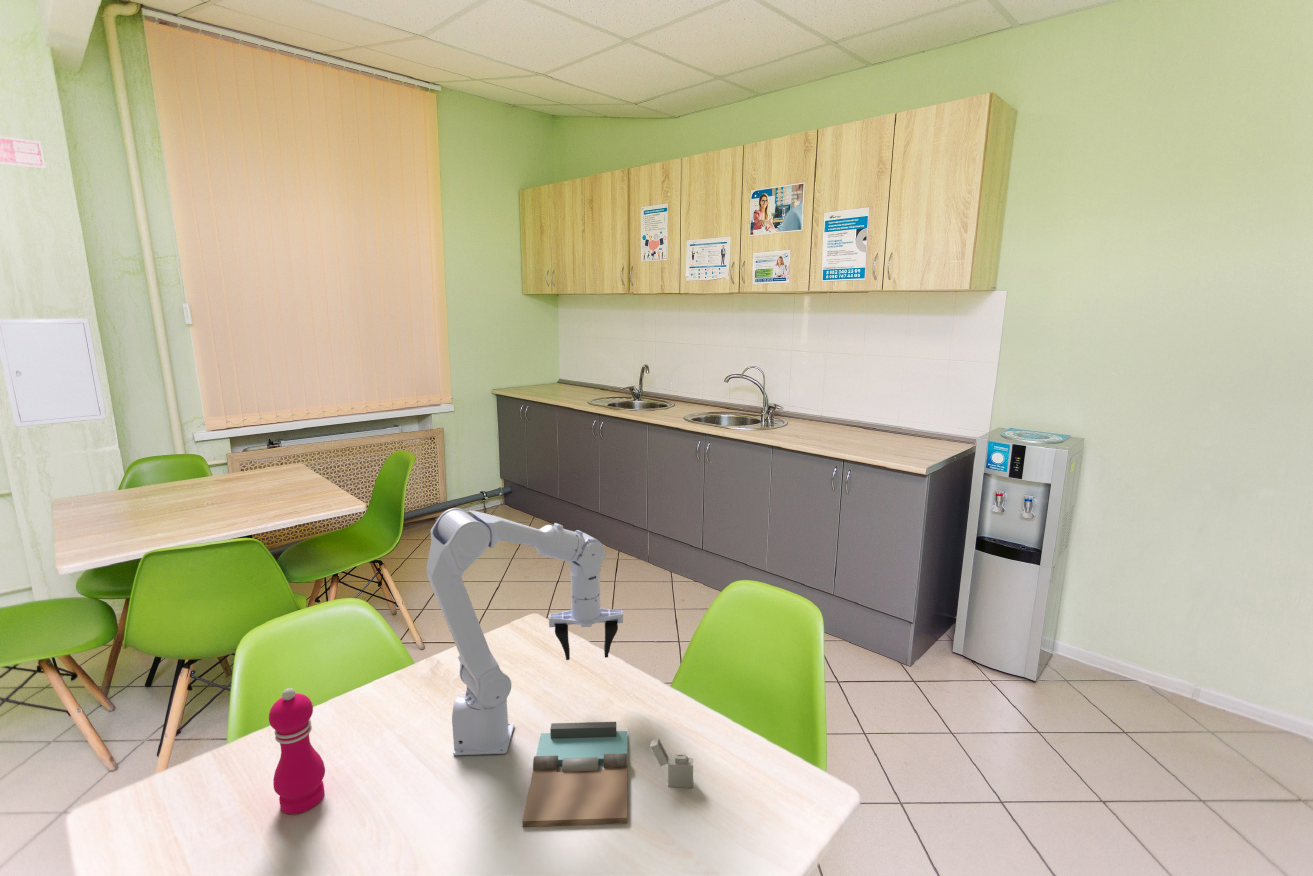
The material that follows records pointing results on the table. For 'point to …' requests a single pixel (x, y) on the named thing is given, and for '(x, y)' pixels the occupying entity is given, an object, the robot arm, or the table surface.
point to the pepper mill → (296, 754)
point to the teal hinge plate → (582, 744)
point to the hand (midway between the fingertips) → (587, 656)
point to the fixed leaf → (577, 794)
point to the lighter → (674, 766)
